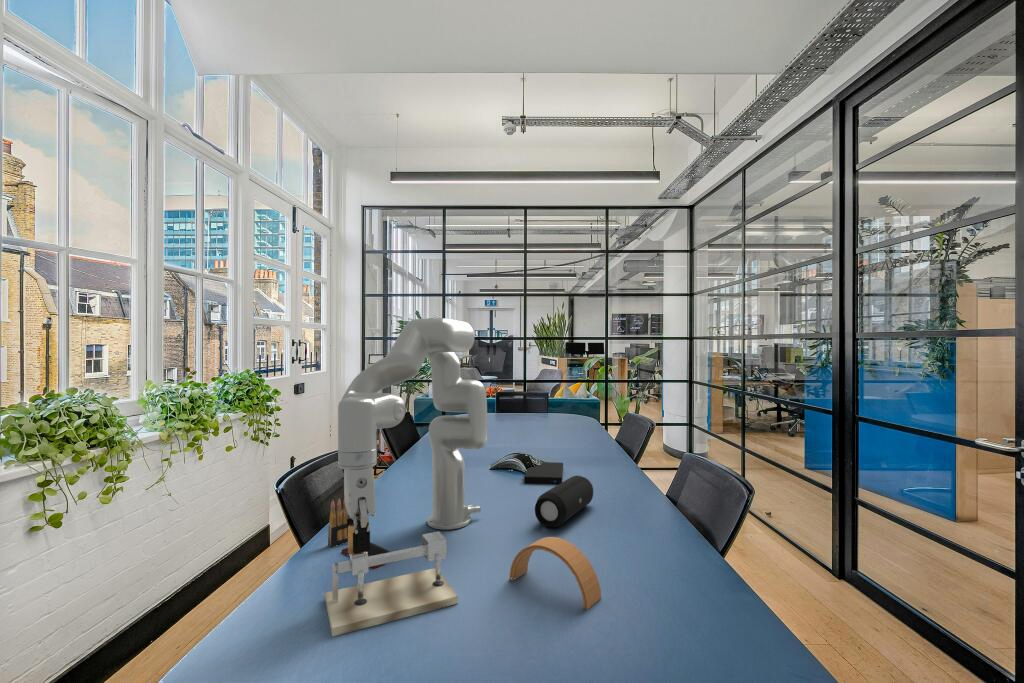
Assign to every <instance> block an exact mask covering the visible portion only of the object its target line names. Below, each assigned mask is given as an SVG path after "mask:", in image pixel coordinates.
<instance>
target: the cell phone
mask: <svg viewBox="0 0 1024 683" xmlns="http://www.w3.org/2000/svg"><path fill="white" fill-rule="evenodd" d="M389 552H391V550H388V549H385V548H383V547H381V546H379V545H377V544H375V543H373V542H371V541H370V550H369V551H367V553H368V557H369V556H374V555H379V554H384V553H389ZM342 553H343V555H344V554H345V555H344V556H347V555H348V556H347V557H349V553H348V547H345V548H342V549H341V554H342ZM382 565H383V566H384V565H387V563H385V564H381V565H376V566H371V567H368V569H370V570H375V569H378V568H380V567H382Z"/></svg>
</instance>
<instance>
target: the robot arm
mask: <svg viewBox="0 0 1024 683" xmlns="http://www.w3.org/2000/svg"><path fill="white" fill-rule="evenodd" d="M474 343H475V331H474V329H473V327H472V325H470V323H468V322H467V321H463V320H458V319H452V318H446V317H445V318H444V317H435V318H434V317H433V318H432V317H431V318H415V319H411V320H409V321H408V322H407V323H406V324H405V325H404V326H403V328H402V329H401V331H400V333H399V335H398V336H397V338H396V340H395V342H394V344H393V345H392V347H391V348H390V350H389V351H388V354H386V356H385V357H383V358H380V359H379V360H378V361H376V362H374V363H373V364H372V365H370V366H368V367H367V368H365V369H364V370H362V371H361V372H359V373H358V374H357V375H356V376H355V377H354V379H352V381H351V383H350V384H349V386H348V387H347V389H346V391H345V392H344V395H343V396H342V398H341V400H340V401H339V402H338V406H337V442H338V443H337V447H338V448H337V449H338V450H337V452H338V453H337V455H338V456H337V458H338V459H337V460H338V462H337V464H338V465H337V466H338V468H339V469H342V470H343V474H344V475H343V478H344V479H343V489H344V490H343V492H344V498H345V507H346V510H347V512H348V518H350V519H347V537H348V526H349V525H351V524H354V533H353V553H354V554H357V553H362V552H367V551H369V550H370V542H371V530H370V520H369V519H370V518H369V516H371V517H374V516H375V515H376V492H375V488H376V487H375V476H374V468H373V467H374V466H376V465H377V464H378V458H377V457H378V455H377V454H378V453H377V450H378V449H377V448H378V447H377V444H378V443H377V442H378V441H377V437H378V436H377V430H378V429H389V428H393V427H397V425H399V424H400V423H402V421H403V419H404V418H405V416H406V415H405V414H406V411H407V410H406V404H405V401H404V399H403V398H402V397H400V396H399V395H398V394H394V393H391V392H389V393H388V392H381V390H383V389H385V388H389V387H391V386H395V385H398V384H401V383H403V382H406V381H409V380H411V379H412V378H415V377H416V376H417V375H418V374H419V372H420V369H421V367H422V366H423V364H424V362H425V360H426V358H427V360H428V361H429V362H428V363H429V364H430V369H431V370H430V371H431V390H432V393H431V394H432V402H433V406H434V408H435V409H436V410H437V411H441V412H445V413H447V412H450V413H467V415H466V416H465V415H450V414H449V415H439V416H436V417H434V419H432V420H431V422H430V423H429V425H428V436H429V438H428V439H429V442H430V443H429V444H430V447H431V459H432V460H431V461H432V462H431V463H432V514H431V515H430V516H429V517H428V518H427V525H428V526H429V527H430V528H433V529H436V530H440V531H441V530H443V531H445V530H446V531H450V530H456V529H457V530H458V529H461V528H463V527H466V526H467V525H468V524H470V523H471V516H470V515H472V514H477V513H480V512H481V506H480V505H474V504H469V505H467V504H466V502H465V501H466V497H465V496H466V490H465V488H466V486H465V485H466V483H465V482H466V480H465V479H466V478H465V470H466V465H465V464H466V463H465V460H464V456H463V455H462V453H461V451H460V450H480V449H484V447H485V445H486V444H487V442H488V433H489V432H488V431H489V429H488V401H487V400H488V399H487V392H486V391H487V390H486V388H485V386H484V384H483V382H481V381H480V380H476V379H462V374H461V363H460V360H459V358H458V355H457V354H456V353H467V352H469V351H470V350H471V349H472V348H473V346H474ZM357 523H358V525H357Z"/></svg>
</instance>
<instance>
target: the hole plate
mask: <svg viewBox="0 0 1024 683" xmlns="http://www.w3.org/2000/svg"><path fill="white" fill-rule="evenodd" d="M458 599H459V596H458V594H457V593H456V592H455V590H454V589H453V588H452V586H451V585H450V583H449V582H448V581H447V580H446V578H445V577H444V575H443V574H442V573H441V580H440V581H439V582H437V581H436V580H435V567H434V568H430V569H425V570H421V571H417V572H412V573H407V574H402V575H398V576H394V577H389V578H385V579H381V580H375V581H370V582H367V583H364V598H363V599H362V600H359V599H358V584H356V585H353V586H349V587H345V588H340V589H339V588H338V603H333V602H332V590H330V591H327V592H324V603H325V607H326V612H327V617H328V621H329V622H328V623H329V627H330V632H331V637H336V636H340V635H342V634H343V635H344V634H347V633H351V632H355V631H359V630H362V629H367V628H370V627H373V626H378V625H382V624H385V623H390V622H392V621H397V620H400V619H404V618H408V617H412V616H415V615H419V614H423V613H427V612H431V611H434V610H438V609H443V608H446V606H447V607H450V606H453V605H458V604H459V602H458V601H459V600H458ZM457 603H458V604H457ZM442 607H443V608H442Z"/></svg>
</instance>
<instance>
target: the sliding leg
mask: <svg viewBox="0 0 1024 683" xmlns="http://www.w3.org/2000/svg"><path fill="white" fill-rule="evenodd" d="M357 525H358V523H357ZM353 533H354V524H351V525H349V526H348V543H347V548H348V553H349V556H350V557H349V556H348V557H349V559H350V560H351V562H352V571H351V572H352V573H351V574H352V576H357V585H358V599H359V600H362V599H363V598H364V584H365V574H367V573H369V567H368V553H367V552H362V553H357V554H354V553H353Z"/></svg>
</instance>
